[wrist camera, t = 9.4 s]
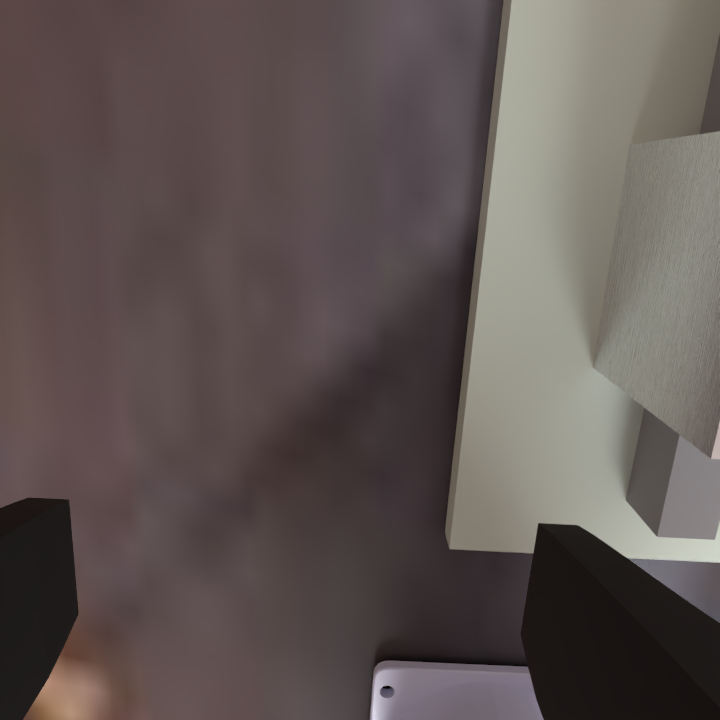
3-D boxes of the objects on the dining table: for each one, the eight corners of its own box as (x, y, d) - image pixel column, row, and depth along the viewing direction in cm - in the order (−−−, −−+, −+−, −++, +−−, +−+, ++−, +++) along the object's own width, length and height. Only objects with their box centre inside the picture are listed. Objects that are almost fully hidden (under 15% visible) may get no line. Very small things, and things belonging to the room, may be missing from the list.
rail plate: (804, 549, 20) (879, 610, 17) (445, 531, 20) (459, 590, 17) (1023, -177, 14) (1187, -267, 12) (527, -213, 14) (569, -315, 11)
